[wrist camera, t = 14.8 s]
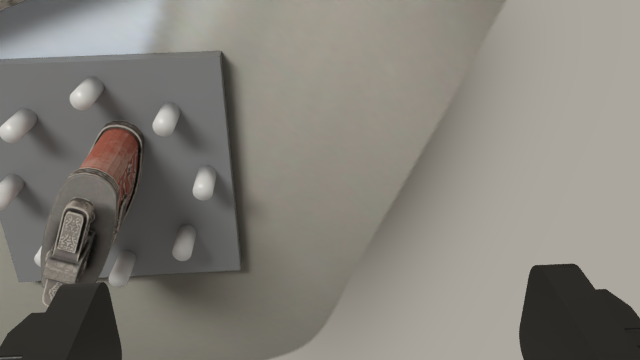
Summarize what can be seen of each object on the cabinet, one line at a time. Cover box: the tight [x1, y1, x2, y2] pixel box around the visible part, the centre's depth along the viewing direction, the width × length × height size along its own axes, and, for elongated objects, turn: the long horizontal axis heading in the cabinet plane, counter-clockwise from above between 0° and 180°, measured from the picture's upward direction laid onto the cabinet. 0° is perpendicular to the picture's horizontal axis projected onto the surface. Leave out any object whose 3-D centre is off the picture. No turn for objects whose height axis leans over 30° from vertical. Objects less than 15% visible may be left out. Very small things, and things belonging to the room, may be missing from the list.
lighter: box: [40, 120, 145, 307], centre depth 34 cm, size 8×3×10 cm, turn 159°
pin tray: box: [0, 51, 241, 287], centre depth 38 cm, size 15×15×4 cm
